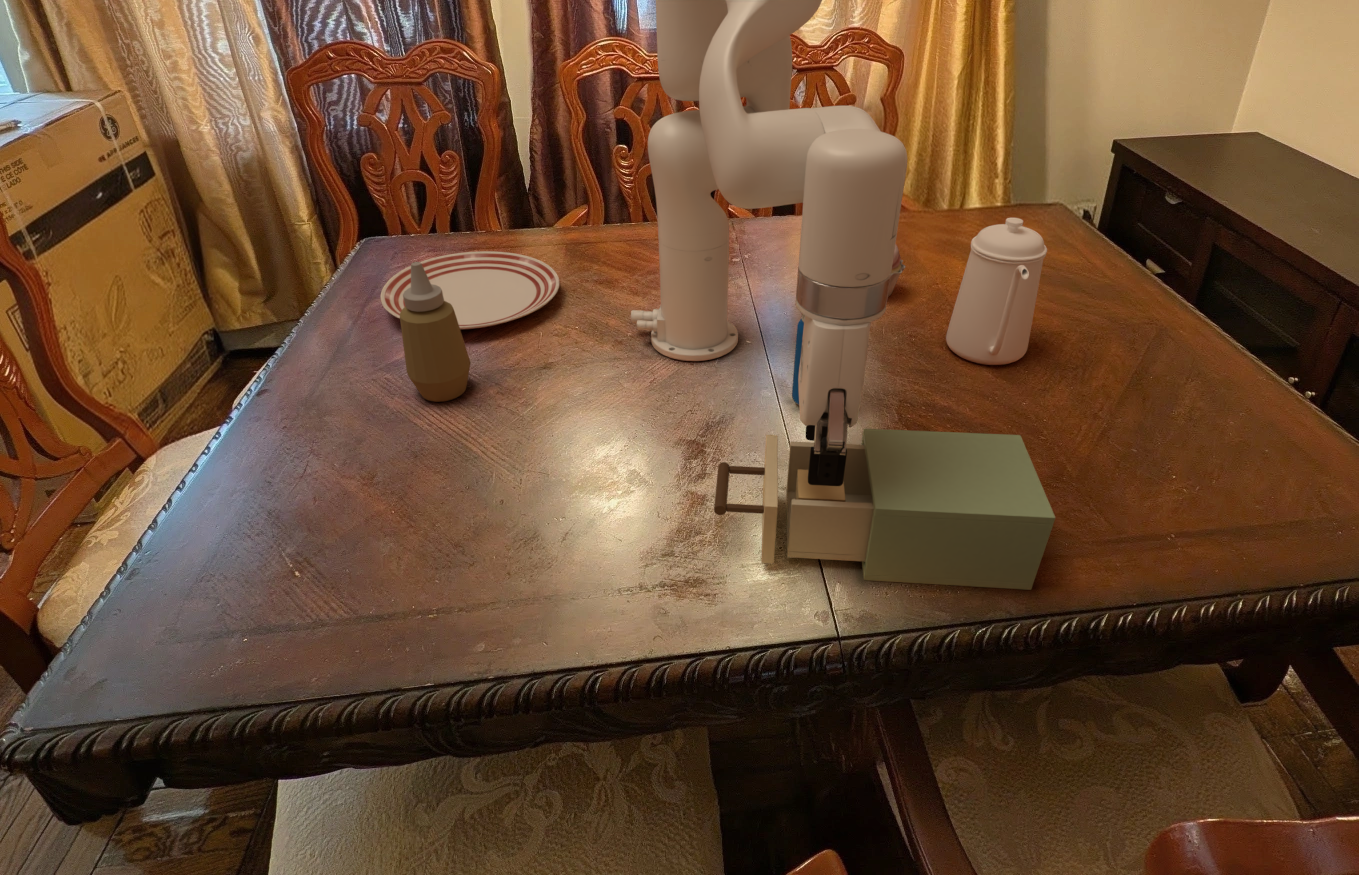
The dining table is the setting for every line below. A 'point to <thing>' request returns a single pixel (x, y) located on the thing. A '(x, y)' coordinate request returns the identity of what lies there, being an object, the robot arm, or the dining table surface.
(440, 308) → the squeeze bottle
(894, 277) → the cupcake
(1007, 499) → the cabinet
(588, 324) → the dining table surface
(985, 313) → the coffeepot
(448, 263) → the dinner plate
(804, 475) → the block
